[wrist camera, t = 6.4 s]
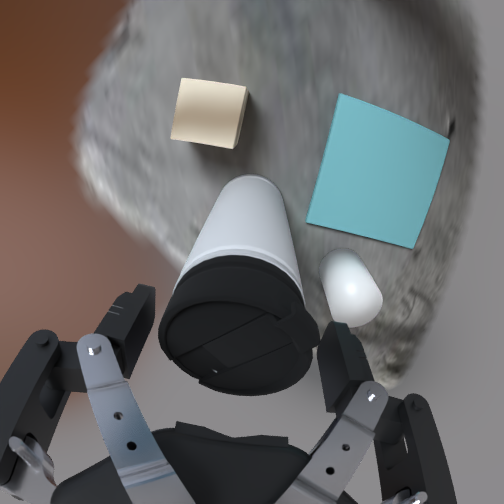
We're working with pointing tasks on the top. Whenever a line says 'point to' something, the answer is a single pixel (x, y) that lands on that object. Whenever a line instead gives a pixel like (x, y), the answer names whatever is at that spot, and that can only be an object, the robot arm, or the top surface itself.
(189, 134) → the birch block
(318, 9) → the top surface
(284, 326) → the travel mug
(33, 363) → the robot arm
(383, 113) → the teal mat
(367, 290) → the white plastic capsule
